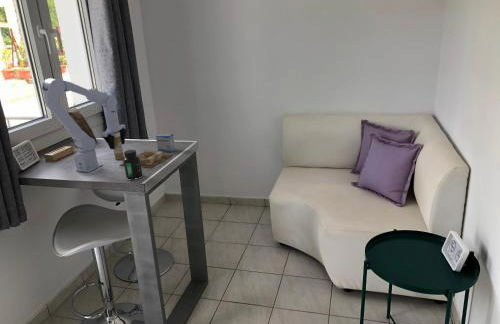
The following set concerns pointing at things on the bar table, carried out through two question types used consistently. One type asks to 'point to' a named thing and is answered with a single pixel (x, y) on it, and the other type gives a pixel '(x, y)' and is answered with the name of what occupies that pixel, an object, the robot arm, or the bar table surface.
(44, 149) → the bar table surface
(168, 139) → the medicine box
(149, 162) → the socket block
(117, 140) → the sprinkles bottle
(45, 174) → the bar table surface
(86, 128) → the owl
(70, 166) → the bar table surface
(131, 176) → the supplement bottle
